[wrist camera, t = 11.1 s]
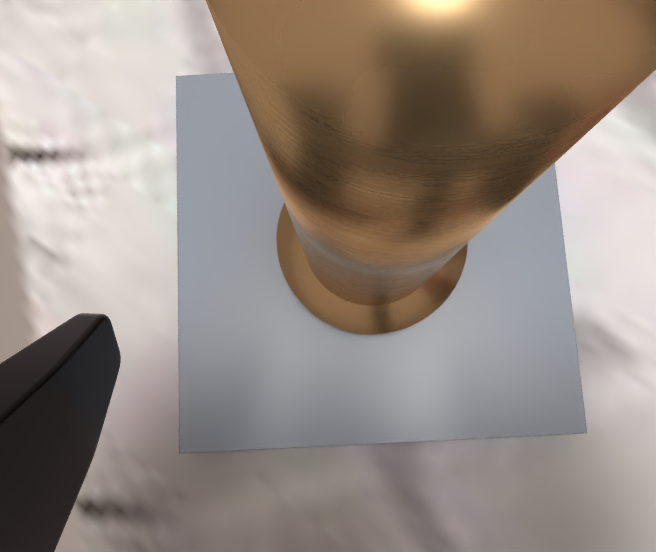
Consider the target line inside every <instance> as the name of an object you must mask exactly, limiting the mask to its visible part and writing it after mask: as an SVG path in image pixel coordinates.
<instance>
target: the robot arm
mask: <svg viewBox="0 0 656 552" xmlns="http://www.w3.org/2000/svg"><path fill="white" fill-rule="evenodd" d="M120 360H121V357H120V351H119V347H118V344H117V341H116V337H115V334H114V330H113V327H112V324H111V321H110V319H109V318H108V316H106V315H104V314H90V313H82V314H78V315H76V316H74V317H73V318H71V319H69V320H68V321H66V322H65V323H63V324H62V325H60V326H59V327H57V328H55V329H54V330H52V331H51V332H49V333H48V334H46V335H44V336H43V337H41V338H40V339H38V340H37V341H35V342H33V343H32V344H30V345H29V346H27V347H26V348H24V349H23V350H21V351H19V352H18V353H16V354H15V355H13V356H12V357H10V358H9V359H7V360H5V361H4V362H2V363H1V364H0V552H54V551H55V549H56V546H57V544H58V541H59V539H60V537H61V534H62V531H63V529H64V527H65V525H66V522H67V520H68V517H69V515H70V513H71V510H72V508H73V505H74V503H75V501H76V498H77V496H78V493H79V491H80V489H81V486H82V484H83V481H84V479H85V477H86V474H87V472H88V469H89V467H90V464H91V462H92V459H93V456H94V453H95V450H96V447H97V444H98V441H99V437H100V434H101V430H102V427H103V423H104V420H105V417H106V413H107V410H108V406H109V403H110V399H111V396H112V392H113V389H114V385H115V382H116V379H117V375H118V372H119V368H120Z"/></svg>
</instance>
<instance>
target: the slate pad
mask: <svg viewBox="0 0 656 552" xmlns="http://www.w3.org/2000/svg"><path fill="white" fill-rule="evenodd" d="M176 126H177V236H178V347H179V453H194V452H214V451H235V450H255V449H276V448H296V447H317V446H337V445H357V444H378V443H398V442H419V441H439V440H459V439H480V438H500V437H521V436H541V435H561V434H582V433H587V429H586V420H585V412H584V404H583V395H582V387H581V379H580V370H579V362H578V354H577V345H576V337H575V329H574V320H573V312H572V304H571V295H570V287H569V279H568V270H567V262H566V254H565V245H564V237H563V229H562V220H561V212H560V204H559V195H558V187H557V179H556V170H555V163H554V164H553V165H552V166H550V167H549V168H548V169H547V170H546V171H545V172H544V173H543V174H542V175H541V176H540V177H539V178H537V179H536V180H535V181H534V182H533V183H532V184H531V185H530V186H529V187H528V188H527V189H526V190H524V191H523V192H522V193H521V194H520V195H519V196H518V197H517V198H516V199H515V200H514V201H513V202H511V203H510V204H509V205H508V206H507V207H506V208H505V209H504V210H503V211H502V212H501V213H499V214H498V215H497V216H496V217H495V218H494V219H493V220H492V221H491V222H490V223H489V224H488V225H486V226H485V227H484V228H483V229H482V230H481V231H480V232H479V233H478V234H477V235H476V236H475V237H473V238H472V239H471V240H470V241H469V242H468V249H467V256H466V262H465V265H464V268H463V271H462V274H461V277H460V279H459V281H458V283H457V285H456V287H455V288H454V290H453V291H452V293H451V294H450V296H449V297H448V298H447V299H446V301H445V302H444V303H443V304H442V305H441V306H440V307H439V308H438V309H437V310H436V311H434V312H433V313H432V314H431V315H429V316H428V317H426V318H425V319H423V320H422V321H420V322H418V323H416V324H414V325H412V326H410V327H407V328H405V329H403V330H399V331H396V332H393V333H388V334H382V335H361V334H354V333H350V332H345V331H342V330H340V329H337V328H334V327H332V326H330V325H328V324H326V323H324V322H323V321H321V320H320V319H318V318H317V317H316V316H314V315H313V314H312V313H311V312H310V311H309V310H307V309H306V308H305V307H304V306H303V304H302V303H301V302H300V301H299V300H298V298H297V297H296V296H295V295H294V293H293V292H292V290H291V289H290V287H289V285H288V284H287V282H286V279H285V277H284V275H283V273H282V270H281V267H280V263H279V260H278V254H277V243H276V234H277V225H278V220H279V216H280V212H281V210H282V207H283V204H284V200H283V197H282V195H281V192H280V190H279V187H278V184H277V182H276V179H275V177H274V174H273V172H272V169H271V166H270V164H269V161H268V159H267V156H266V154H265V151H264V148H263V146H262V143H261V141H260V138H259V136H258V133H257V130H256V128H255V125H254V123H253V120H252V118H251V115H250V112H249V110H248V107H247V105H246V102H245V100H244V97H243V94H242V92H241V89H240V87H239V84H238V82H237V79H236V77H235V74H234V73H221V74H204V75H188V76H176Z"/></svg>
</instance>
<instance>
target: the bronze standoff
mask: <svg viewBox="0 0 656 552" xmlns="http://www.w3.org/2000/svg"><path fill="white" fill-rule="evenodd" d="M206 2H207V5H208V7H209V10H210V12H211V15H212V17H213V20H214V23H215V25H216V28H217V30H218V33H219V35H220V38H221V41H222V43H223V46H224V48H225V51H226V53H227V56H228V59H229V61H230V64H231V66H232V69H233V71H234V74H235V77H236V79H237V82H238V84H239V87H240V89H241V92H242V94H243V97H244V100H245V102H246V105H247V107H248V110H249V112H250V115H251V118H252V120H253V123H254V125H255V128H256V130H257V133H258V136H259V138H260V141H261V143H262V146H263V148H264V151H265V154H266V156H267V159H268V161H269V164H270V166H271V169H272V172H273V174H274V177H275V179H276V182H277V184H278V187H279V190H280V192H281V195H282V197H283V200H284V204H283V207H282V210H281V212H280V216H279V220H278V225H277V234H276V243H277V254H278V260H279V263H280V267H281V270H282V273H283V275H284V277H285V279H286V282H287V284H288V285H289V287H290V289H291V290H292V292H293V293H294V295H295V296H296V297H297V298H298V300H299V301H300V302H301V303H302V304H303V306H304V307H305V308H306V309H307V310H309V311H310V312H311V313H312V314H313V315H314V316H316V317H317V318H318V319H320V320H321V321H323V322H324V323H326V324H328V325H330V326H332V327H334V328H337V329H340V330H342V331H345V332H350V333H354V334H361V335H382V334H388V333H393V332H396V331H399V330H403V329H405V328H407V327H410V326H412V325H414V324H416V323H418V322H420V321H422V320H423V319H425V318H426V317H428V316H429V315H431V314H432V313H433V312H434V311H436V310H437V309H438V308H439V307H440V306H441V305H442V304H443V303H444V302H445V301H446V299H447V298H448V297H449V296H450V294H451V293H452V291H453V290H454V288H455V287H456V285H457V283H458V281H459V279H460V277H461V274H462V271H463V268H464V265H465V262H466V256H467V249H468V242H469V241H470V240H471V239H472V238H473V237H475V236H476V235H477V234H478V233H479V232H480V231H481V230H482V229H483V228H484V227H485V226H486V225H488V224H489V223H490V222H491V221H492V220H493V219H494V218H495V217H496V216H497V215H498V214H499V213H501V212H502V211H503V210H504V209H505V208H506V207H507V206H508V205H509V204H510V203H511V202H513V201H514V200H515V199H516V198H517V197H518V196H519V195H520V194H521V193H522V192H523V191H524V190H526V189H527V188H528V187H529V186H530V185H531V184H532V183H533V182H534V181H535V180H536V179H537V178H539V177H540V176H541V175H542V174H543V173H544V172H545V171H546V170H547V169H548V168H549V167H550V166H552V165H553V164H554V163H555V162H556V161H557V160H558V159H559V158H560V157H561V156H562V155H563V154H565V153H566V152H567V151H568V150H569V149H570V148H571V147H572V146H573V145H574V144H575V143H576V142H578V141H579V140H580V139H581V138H582V137H583V136H584V135H585V134H586V133H587V132H588V131H590V130H591V129H592V128H593V127H594V126H595V125H596V124H597V123H598V122H599V121H600V120H601V119H603V118H604V117H605V116H606V115H607V114H608V113H609V112H610V111H611V110H612V109H613V108H614V107H616V106H617V105H618V104H619V103H620V102H621V101H622V100H623V99H624V98H625V97H626V96H627V95H629V94H630V93H631V92H632V91H633V90H634V89H635V88H636V87H637V86H638V85H639V84H640V83H642V82H643V81H644V80H645V79H646V78H647V77H648V76H649V75H650V74H651V73H652V72H653V71H655V70H656V0H206Z"/></svg>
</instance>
